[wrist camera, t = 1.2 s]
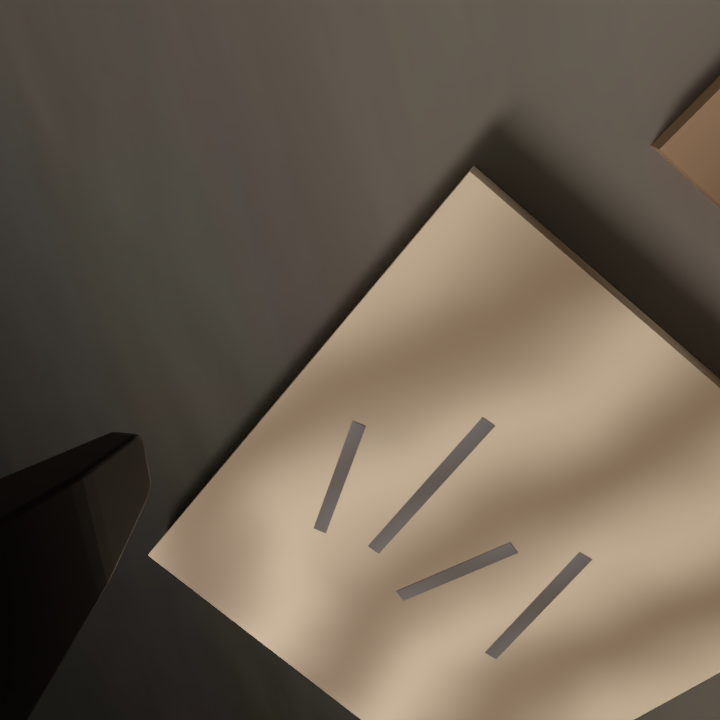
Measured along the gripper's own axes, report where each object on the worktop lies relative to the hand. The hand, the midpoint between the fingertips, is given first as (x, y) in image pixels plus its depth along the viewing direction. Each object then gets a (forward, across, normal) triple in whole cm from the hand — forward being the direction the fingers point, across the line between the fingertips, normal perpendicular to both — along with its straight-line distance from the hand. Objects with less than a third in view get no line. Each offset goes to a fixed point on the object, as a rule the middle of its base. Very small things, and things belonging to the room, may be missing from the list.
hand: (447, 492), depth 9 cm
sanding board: (+13, -1, +11) cm, 17 cm away
